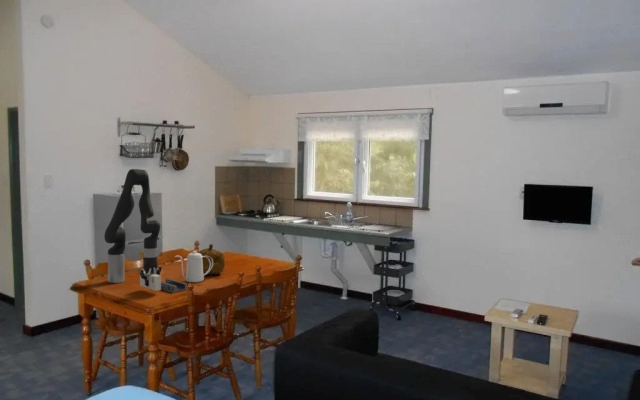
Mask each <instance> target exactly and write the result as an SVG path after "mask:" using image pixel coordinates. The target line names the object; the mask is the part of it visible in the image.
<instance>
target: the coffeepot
mask: <svg viewBox="0 0 640 400" xmlns="http://www.w3.org/2000/svg"><path fill="white" fill-rule="evenodd" d="M202 257H205V256H202V255H201V254H200V253H198V252H197V250H193V252H190V253H188V254H187V257H186V270H185V271H186V273H185V274H184V265H183V263H184V261H183V257H182V256H181V255H177V254H176V255H175V256H174V258H179V259H180V263H181V265H180V266H181V274H182V278H185V281H187V282H188V283H201V282H203V281H204V279H205V277H204V276H206V274H207V273H209V271H210V270H211V269H212V267H213V260H212V266H211V262H210V260H209V262H210V267H211V268H210V267H209V269H208V271H207V272H206V273H205V274H203V261H202ZM208 257H209V256H208ZM210 258H211V257H210ZM208 259H209V258H208ZM211 259H212V258H211Z"/></svg>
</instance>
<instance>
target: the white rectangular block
mask: <svg viewBox="0 0 640 400" xmlns="http://www.w3.org/2000/svg"><path fill="white" fill-rule="evenodd" d="M147 274H148V273H147ZM144 275H145V271H144ZM148 280H149V286H146V285H145V280H144V279H142V278H141V276H140V275H139V287H144V288H147V289H149V290H151V291H154V292H156V291H161V281H162V275H161V274H160V275H157V274H153V273H151V274H150V275H149V279H148Z"/></svg>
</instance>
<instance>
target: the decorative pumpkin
mask: <svg viewBox="0 0 640 400" xmlns="http://www.w3.org/2000/svg"><path fill="white" fill-rule="evenodd" d="M213 247H214V245H213V244H212V243H211V244H209V246H208V248H207V247H206V248H203V249H201V250H200V251H198V252H197V253H200V254H201V255H202V256H205V257H202V261H203V274H205V273H206V272H207V271H208V269H209V267H210V262H211V266H212V260H213V267H212V269H211V270H210V271H209V273H207V274H206V275H207V276H213V275H219V274H222V272H223V271H224V269H225V265H226V262H225V261H226V260H225V256H224V254H223V252H221V251H219V250H216V249H213ZM208 256H209V257H208ZM210 257H211V258H212V259H211V258H210ZM208 258H209V259H208ZM209 260H210V262H209ZM210 268H211V267H210ZM206 275H205V276H206Z"/></svg>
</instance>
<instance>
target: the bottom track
mask: <svg viewBox="0 0 640 400" xmlns="http://www.w3.org/2000/svg"><path fill="white" fill-rule="evenodd" d="M187 285H189V283H186V282H182V281H179V280H176V279H173V278H172V279H171V278H168V277H167V278H165V279H164V281H162V280H161V290H162V291H164V292H166V293H167V292H168V293H171V294H175V293H178V292H183V291H188V290H187ZM161 290H160V291H161Z"/></svg>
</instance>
